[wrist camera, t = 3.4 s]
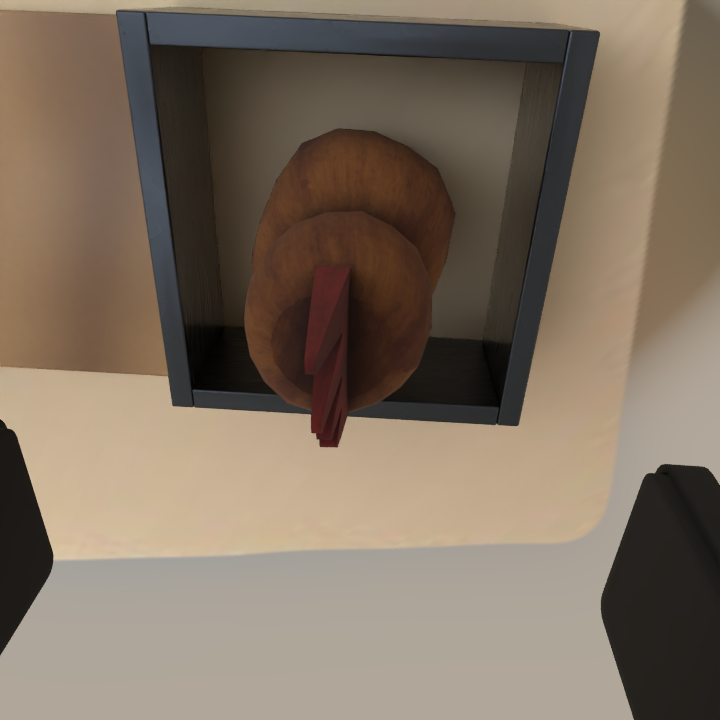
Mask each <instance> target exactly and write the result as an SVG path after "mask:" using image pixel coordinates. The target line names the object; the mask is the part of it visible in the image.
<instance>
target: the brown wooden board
mask: <svg viewBox="0 0 720 720" xmlns="http://www.w3.org/2000/svg"><path fill="white" fill-rule="evenodd" d="M0 366H2V367H19V368H37V369H54V370H72V371H89V372H106V373H124V374H141V375H159V376H168V371H167V364H166V357H165V350H164V343H163V336H162V329H161V322H160V315H159V308H158V301H157V294H156V287H155V280H154V273H153V267H152V260H151V253H150V246H149V239H148V232H147V225H146V218H145V211H144V204H143V197H142V190H141V183H140V176H139V169H138V162H137V155H136V148H135V141H134V135H133V128H132V121H131V114H130V107H129V100H128V93H127V86H126V79H125V72H124V65H123V58H122V51H121V44H120V37H119V30H118V23H117V16H116V15H111V14H88V13H65V12H42V11H19V10H0Z"/></svg>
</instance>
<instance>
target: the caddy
mask: <svg viewBox="0 0 720 720" xmlns="http://www.w3.org/2000/svg"><path fill="white" fill-rule="evenodd" d="M116 16H117V23H118V30H119V37H120V44H121V51H122V58H123V65H124V72H125V79H126V86H127V93H128V100H129V107H130V114H131V121H132V128H133V135H134V141H135V148H136V155H137V162H138V169H139V176H140V183H141V190H142V197H143V204H144V211H145V218H146V225H147V232H148V239H149V246H150V253H151V260H152V267H153V273H154V280H155V287H156V294H157V301H158V308H159V315H160V322H161V329H162V336H163V343H164V350H165V357H166V364H167V371H168V378H169V385H170V392H171V399H172V405H173V406H180V407H197V408H214V409H231V410H248V411H265V412H282V413H299V414H311V413H312V411H310V410H307V409H304V408H301V407H298V406H294V405H291V404H288V403H287V402H286V401H284V400H283V399H282V398H281V397H280V396H279V395H278V394H277V393H276V392H275V391H274V390H273V389H272V388H271V387H270V386H268V385H267V384H266V383H265V382H264V380H263V378H262V376H261V375H260V373H259V371H258V369H257V367H256V366H255V364H254V362H253V360H252V358H251V357H250V353H249V348H248V342H247V337H246V332H245V327H230V326H225V327H224V318H223V306H222V294H221V282H220V271H219V259H218V247H217V235H216V224H215V212H214V200H213V188H212V177H211V165H210V153H209V141H208V130H207V118H206V106H205V94H204V83H203V71H202V59H201V48H222V49H244V50H266V51H288V52H311V53H333V54H355V55H377V56H400V57H422V58H444V59H467V60H489V61H511V62H527V65H526V71H525V77H524V84H523V90H522V96H521V103H520V109H519V115H518V122H517V128H516V134H515V141H514V147H513V153H512V160H511V166H510V172H509V179H508V185H507V191H506V198H505V204H504V210H503V217H502V223H501V229H500V236H499V242H498V248H497V255H496V261H495V267H494V274H493V280H492V286H491V293H490V299H489V305H488V312H487V318H486V324H485V331H484V337H483V342H482V341H481V340H464V339H446V338H428V341H427V344H426V347H425V350H424V353H423V356H422V358H421V361H420V363H419V366H418V367H417V368H416V370H415V371H414V372H413V373H412V374H411V376H410V377H409V378H408V379H407V380H406V381H405V383H404V384H403V385H402V386H401V387H400V388H399V389H397V390H396V391H395V392H393V393H392V394H390V395H389V396H388V397H386V398H385V399H383V400H382V401H381V402H379V403H377V404H374V405H371V406H368V407H366V408H363V409H360V410H357V411H354V412H351V413H348V415H347V416H351V417H368V418H385V419H402V420H419V421H436V422H453V423H470V424H487V425H496V423H497V424H498V425H507V426H518V425H519V421H520V416H521V411H522V406H523V402H524V397H525V392H526V387H527V382H528V378H529V373H530V368H531V363H532V358H533V354H534V349H535V344H536V339H537V334H538V330H539V325H540V320H541V315H542V310H543V306H544V301H545V296H546V291H547V286H548V282H549V277H550V272H551V267H552V262H553V258H554V253H555V248H556V243H557V238H558V234H559V229H560V224H561V219H562V214H563V210H564V205H565V200H566V195H567V190H568V186H569V181H570V176H571V171H572V166H573V162H574V157H575V152H576V147H577V142H578V138H579V133H580V128H581V123H582V118H583V114H584V109H585V104H586V99H587V94H588V90H589V85H590V80H591V75H592V70H593V66H594V61H595V56H596V51H597V46H598V42H599V37H600V32H599V31H597V30H591V29H585V28H579V27H573V26H567V25H561V24H555V23H532V22H510V21H487V20H464V19H441V18H418V17H395V16H372V15H348V14H325V13H302V12H279V11H256V10H233V9H210V8H187V7H165V8H144V9H123V10H117V11H116Z"/></svg>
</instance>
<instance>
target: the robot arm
mask: <svg viewBox="0 0 720 720" xmlns="http://www.w3.org/2000/svg"><path fill="white" fill-rule="evenodd" d="M52 565H53V551H52V548H51V545H50V541H49V538H48V535H47V532H46V529H45V525H44V522H43V519H42V516H41V513H40V509H39V506H38V503H37V500H36V496H35V493H34V490H33V487H32V484H31V480H30V477H29V474H28V471H27V468H26V464H25V461H24V458H23V455H22V452H21V448H20V445H19V442H18V439H17V436H16V434H15V432H14V431H13V430H11V429H7V427H6V425H5V423H4V422H3V421H2V420H1V419H0V655H1V653H2V652H3V650H4V648H5V647H6V645H7V644H8V642H9V640H10V639H11V637H12V636H13V634H14V632H15V631H16V629H17V627H18V626H19V624H20V623H21V621H22V619H23V617H24V616H25V614H26V613H27V611H28V609H29V608H30V606H31V605H32V603H33V601H34V600H35V598H36V596H37V595H38V593H39V592H40V590H41V588H42V587H43V585H44V583H45V582H46V580H47V578H48V577H49V575H50V572H51V569H52ZM601 613H602V619H603V623H604V626H605V629H606V632H607V636H608V638H609V642H610V645H611V648H612V651H613V655H614V658H615V661H616V664H617V667H618V670H619V674H620V677H621V680H622V683H623V686H624V689H625V692H626V696H627V699H628V702H629V705H630V708H631V711H632V715H633V718H634V720H720V485H719V483H718V482H717V480H716V479H715V477H714V476H713V474H712V473H711V472H710V471H709V469H707V468H705V467H699V466H685V465H671V464H664V465H661V466H660V467H659V468H658V469H657V471H656V473H655V474H653V473H649V474H647V475H646V476H645V477H644V479H643V481H642V484H641V487H640V490H639V492H638V495H637V498H636V501H635V504H634V506H633V509H632V512H631V515H630V518H629V520H628V523H627V526H626V529H625V532H624V534H623V537H622V540H621V543H620V546H619V548H618V552H617V554H616V557H615V560H614V563H613V565H612V568H611V571H610V574H609V577H608V579H607V582H606V585H605V588H604V591H603V593H602V598H601Z"/></svg>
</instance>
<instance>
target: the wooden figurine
mask: <svg viewBox="0 0 720 720" xmlns="http://www.w3.org/2000/svg"><path fill="white" fill-rule="evenodd" d="M454 217H455V211H454V208H453V205H452V202H451V200H450V197H449V195H448V192H447V190H446V187H445V185H444V183H443V180H442V178H441V175H440V173H439V171H438V169H437V168H436V167H435V166H433V165H432V164H431V163H429V162H428V161H427V160H425V159H424V158H423V157H421V156H420V155H419V154H417V153H416V152H415V151H413V150H412V149H411V148H409V147H408V146H406V145H404V144H401V143H399V142H397V141H395V140H392V139H390V138H388V137H386V136H383V135H381V134H379V133H377V132H373V131H362V130H351V129H336V130H334V131H331V132H329V133H326V134H324V135H321V136H319V137H316V138H314V139H311V140H309V141H306V142H304V143H302V144H301V145H300V147H299V148H298V150H297V151H296V153H295V154H294V155H293V157H292V158H291V160H290V161H289V163H288V164H287V166H286V167H285V168H284V170H283V171H282V173H281V174H280V176H279V177H278V179H277V180H276V183H275V185H274V188H273V190H272V192H271V195H270V197H269V200H268V202H267V205H266V207H265V209H264V212H263V215H262V217H261V220H260V222H259V227H258V231H257V236H256V240H255V244H254V249H253V253H252V279H251V281H250V283H249V286H248V290H247V298H246V305H245V313H244V324H245V332H246V337H247V342H248V348H249V353H250V357H251V358H252V360H253V362H254V364H255V366H256V367H257V369H258V371H259V373H260V375H261V376H262V378H263V380H264V382H265V383H266V384H267V385H268V386H270V387H271V388H272V389H273V390H274V391H275V392H276V393H277V394H278V395H279V396H280V397H281V398H282V399H283V400H284V401H286V402H287V403H288V404H291V405H294V406H298V407H301V408H304V409H307V410H310V411H312V413H311V432H312V433H316V437H317V439H319V442H320V447H338V444H339V441H340V438H341V435H342V432H343V428H344V425H345V422H346V418H347V415H348V413H351V412H354V411H357V410H360V409H363V408H366V407H368V406H371V405H374V404H377V403H379V402H381V401H382V400H383V399H385V398H386V397H388V396H389V395H390V394H392V393H393V392H395V391H396V390H397V389H399V388H400V387H401V386H402V385H403V384H404V383H405V381H406V380H407V379H408V378H409V377H410V376H411V374H412V373H413V372H414V371H415V370H416V368H417V367H418V366H419V363H420V361H421V358H422V356H423V353H424V350H425V347H426V344H427V341H428V337H429V334H430V331H431V328H432V293H433V291H434V289H435V286H436V284H437V281H438V279H439V277H440V274H441V272H442V269H443V267H444V265H445V262H446V258H447V253H448V248H449V243H450V238H451V233H452V228H453V223H454Z"/></svg>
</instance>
